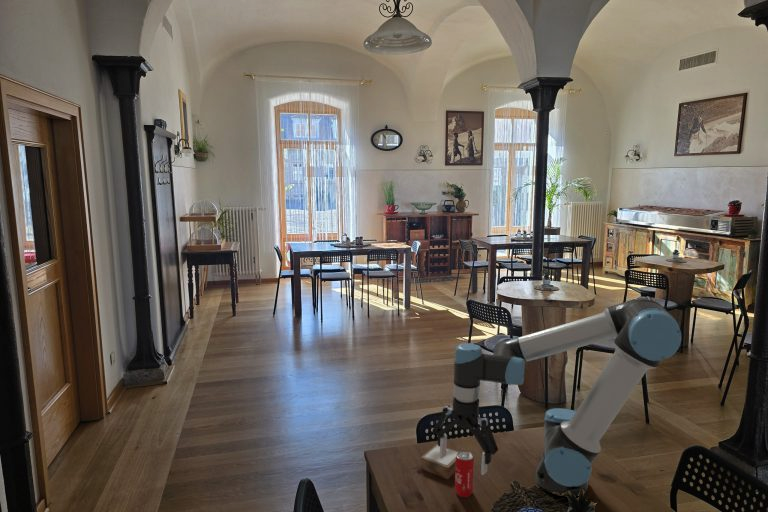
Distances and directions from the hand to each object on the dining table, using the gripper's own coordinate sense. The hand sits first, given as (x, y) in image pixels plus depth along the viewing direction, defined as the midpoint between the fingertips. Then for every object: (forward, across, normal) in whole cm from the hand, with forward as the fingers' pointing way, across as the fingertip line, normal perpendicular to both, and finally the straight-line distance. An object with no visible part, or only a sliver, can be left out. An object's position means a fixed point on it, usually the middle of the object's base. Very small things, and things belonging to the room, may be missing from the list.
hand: (463, 464), depth 151 cm
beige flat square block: (+9, +11, -8) cm, 17 cm away
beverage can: (+9, -1, 0) cm, 9 cm away
